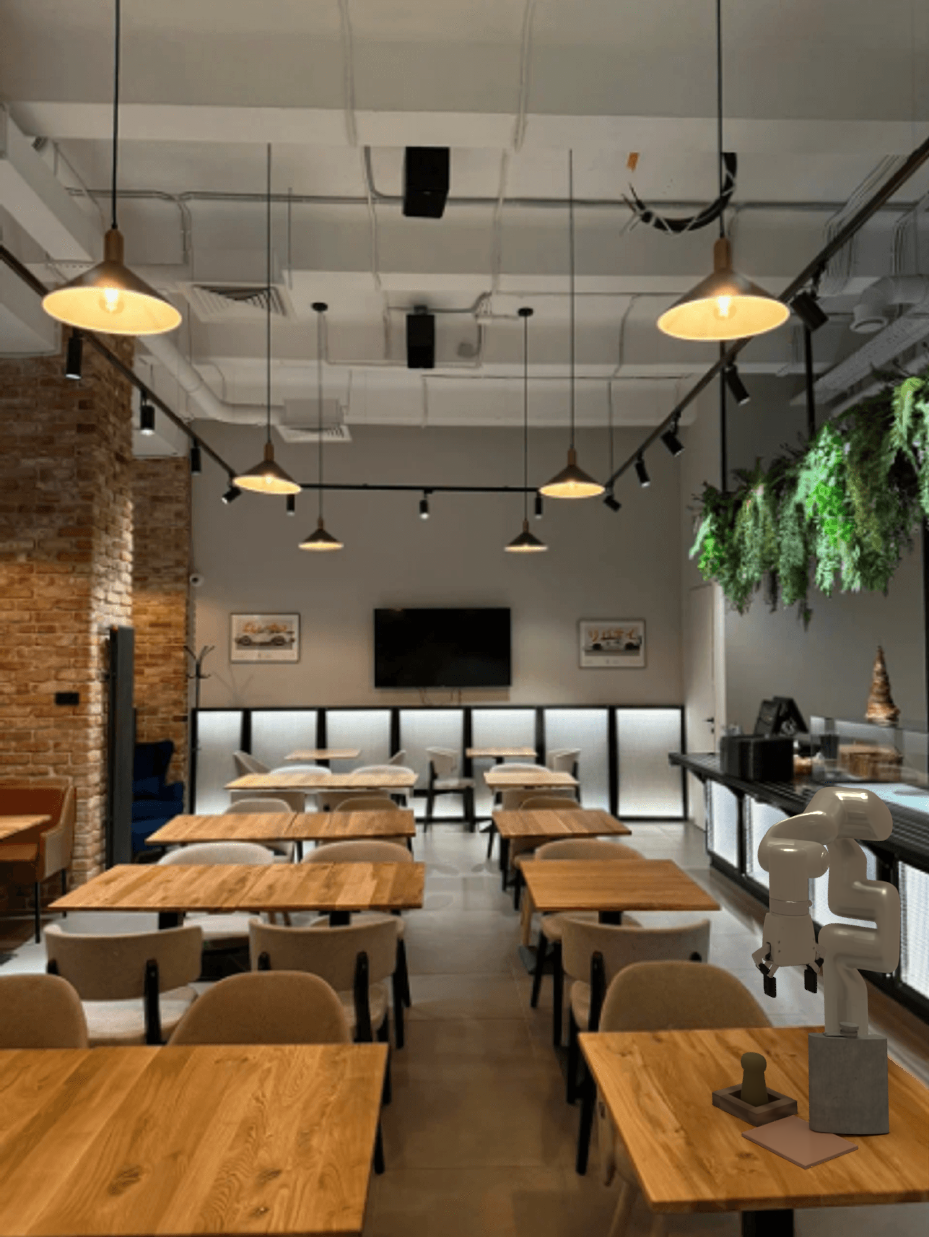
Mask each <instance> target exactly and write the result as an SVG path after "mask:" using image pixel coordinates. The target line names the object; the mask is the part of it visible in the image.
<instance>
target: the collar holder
mask: <svg viewBox="0 0 929 1237" xmlns="http://www.w3.org/2000/svg"><path fill="white" fill-rule="evenodd" d="M741 1089H742V1082H740V1083H738V1084H734V1085H732V1086H728V1087H725V1088H721V1089H718V1090H715V1091H711V1101H712V1102H711V1103H712V1104H711V1105H713V1106H714V1107H716V1108H718V1109H720V1110H722V1111H725V1112H727V1113H728V1114H730V1115H732V1116H733V1117H737V1118H738V1119H741V1120H742V1121H744V1122H746V1123H748V1124H751V1125H752V1126H754V1127H755V1128H757V1127H760V1126H763V1125H766V1124H769V1123H771V1122H774V1121H777V1120H780V1119H783V1118H786V1117H789V1116H792V1115H794V1116H796V1115H797V1114H798V1111H799V1110H798V1100H796V1099H794V1098H792V1097H791V1096H787V1095H785V1094H784V1093H781V1092H779V1091H777V1090H774V1089H772V1088H770V1087H768V1086H766V1089H767V1095H768V1102H769V1103H768V1104H765V1105H762V1106H759V1107H754V1106H752V1105H750V1104H748V1103H746V1102H744V1101H742V1100H740V1098H741Z"/></svg>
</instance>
